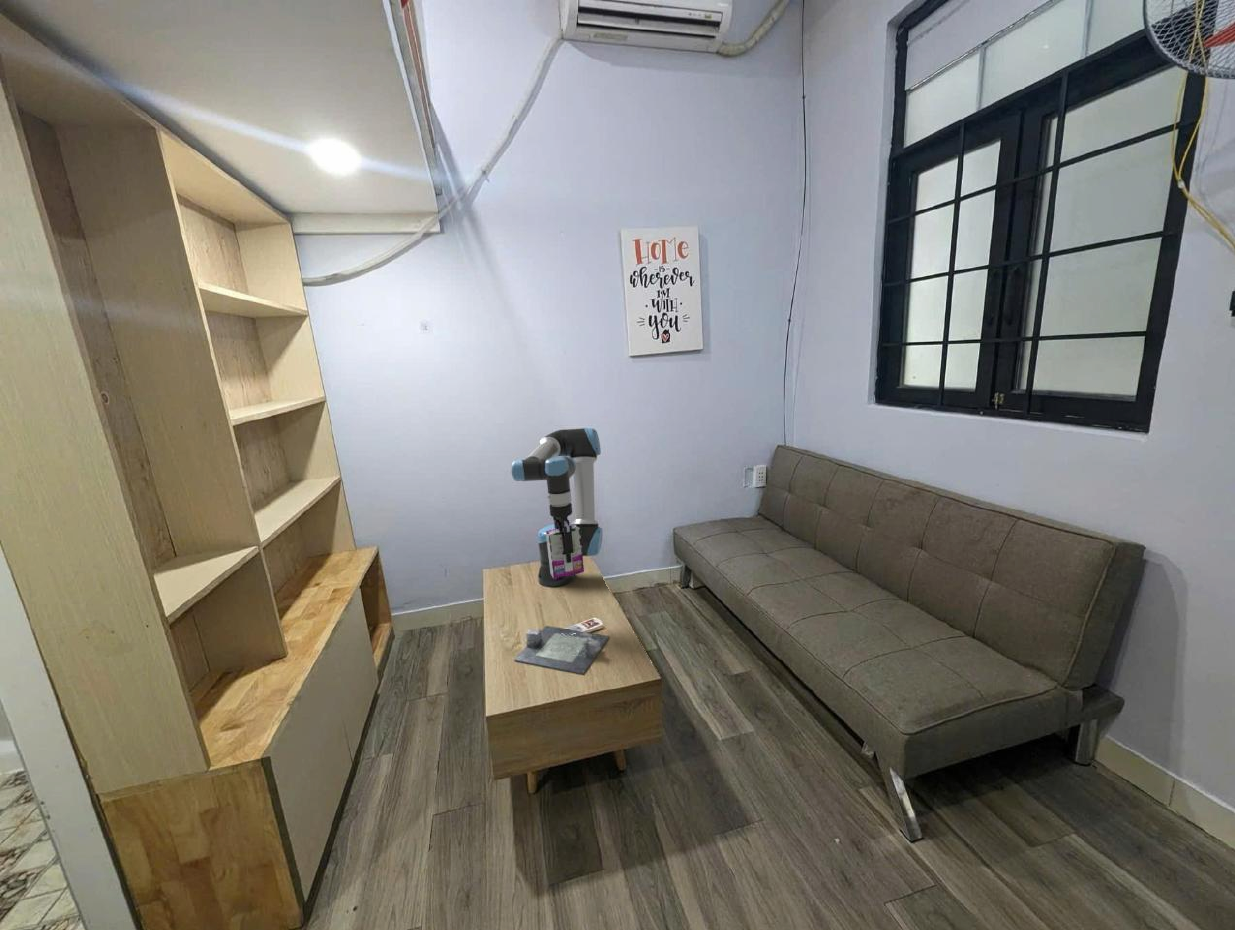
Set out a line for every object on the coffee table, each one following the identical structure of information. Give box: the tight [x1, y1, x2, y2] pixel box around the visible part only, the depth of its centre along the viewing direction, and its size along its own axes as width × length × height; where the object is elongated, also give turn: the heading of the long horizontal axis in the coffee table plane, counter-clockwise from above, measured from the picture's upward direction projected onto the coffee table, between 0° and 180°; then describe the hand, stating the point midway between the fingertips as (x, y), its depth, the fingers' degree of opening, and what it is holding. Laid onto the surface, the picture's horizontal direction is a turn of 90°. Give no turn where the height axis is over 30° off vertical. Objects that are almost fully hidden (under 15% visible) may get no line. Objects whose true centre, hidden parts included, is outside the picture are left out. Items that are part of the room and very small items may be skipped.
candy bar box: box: [546, 524, 585, 579], centre depth 166 cm, size 11×5×16 cm, turn 114°
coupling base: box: [513, 625, 610, 675], centre depth 155 cm, size 26×20×5 cm
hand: (566, 567), depth 167 cm, fingers closed on candy bar box, 5 cm apart
